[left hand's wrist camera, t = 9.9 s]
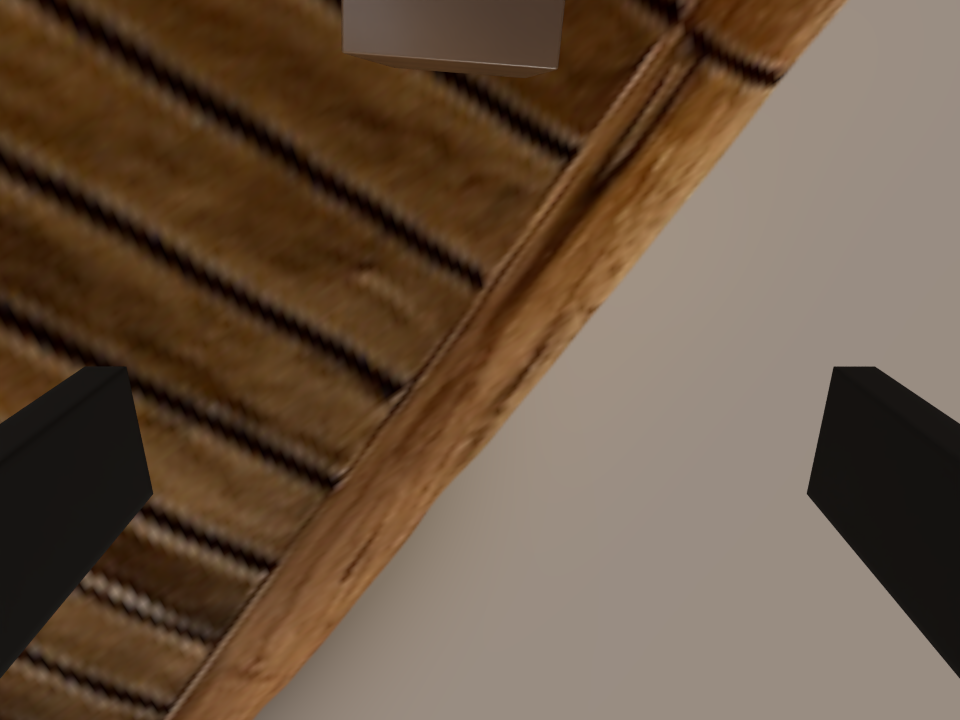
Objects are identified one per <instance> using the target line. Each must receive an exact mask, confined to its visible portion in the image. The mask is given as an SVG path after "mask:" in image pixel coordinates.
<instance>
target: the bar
mask: <svg viewBox="0 0 960 720" xmlns="http://www.w3.org/2000/svg"><path fill="white" fill-rule="evenodd" d="M564 6H565V0H342V52H343V53H345V54H348V55H352V56H355V57H359V58H362V59H366V60H369V61H373V62H376V63H380V64H383V65H387V66H390V67H394V68H405V69H418V70H430V71H443V72H456V73H469V74H481V75H494V76H507V77H520V78H527V77H531V76H534V75H538V74H542V73H546V72H550V71H553V70H557V68H558V62H559V53H560V43H561V34H562V24H563V15H564Z"/></svg>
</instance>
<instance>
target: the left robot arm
mask: <svg viewBox="0 0 960 720" xmlns="http://www.w3.org/2000/svg"><path fill="white" fill-rule="evenodd" d="M152 495H153V490H152V486H151V481H150V476H149V471H148V467H147V462H146V457H145V453H144V448H143V443H142V438H141V434H140V429H139V424H138V420H137V415H136V410H135V405H134V401H133V396H132V391H131V386H130V382H129V377H128V372H127V368H126V367H84V368H82V369H81V370H79V371H78V372H76V373H75V374H73V375H72V376H70V377H69V378H67V379H66V380H64V381H63V382H62V383H60V384H59V385H57V386H56V387H54V388H53V389H51V390H50V391H48V392H47V393H45V394H44V395H42V396H41V397H39V398H38V399H36V400H35V401H33V402H32V403H30V404H29V405H27V406H26V407H24V408H23V409H22V410H20V411H19V412H17V413H16V414H14V415H13V416H11V417H10V418H8V419H7V420H5V421H4V422H2V423H1V424H0V678H1V677H2V676H3V674H4V673H5V672H6V671H7V670H8V668H9V667H10V666H11V665H12V664H13V662H14V661H15V660H16V659H17V658H18V656H19V655H20V654H21V653H22V651H23V650H24V649H25V648H26V647H27V645H28V644H29V643H30V642H31V641H32V639H33V638H34V637H35V636H36V635H37V633H38V632H39V631H40V630H41V629H42V627H43V626H44V625H45V624H46V623H47V621H48V620H49V619H50V618H51V617H52V615H53V614H54V613H55V612H56V610H57V609H58V608H59V607H60V606H61V604H62V603H63V602H64V601H65V600H66V598H67V597H68V596H69V595H70V594H71V592H72V591H73V590H74V589H75V588H76V586H77V585H78V584H79V583H80V582H81V580H82V579H83V578H84V577H85V576H86V574H87V573H88V572H89V571H90V569H91V568H92V567H93V566H94V565H95V563H96V562H97V561H98V560H99V559H100V557H101V556H102V555H103V554H104V553H105V551H106V550H107V549H108V548H109V547H110V545H111V544H112V543H113V542H114V541H115V539H116V538H117V537H118V536H119V535H120V533H121V532H122V531H123V530H124V528H125V527H126V526H127V525H128V524H129V522H130V521H131V520H132V519H133V518H134V516H135V515H136V514H137V513H138V512H139V510H140V509H141V508H142V507H143V506H144V504H145V503H146V502H147V501H148V500H149V498H150V497H151V496H152ZM807 495H808V496H809V497H810V498H811V500H812V501H813V502H814V503H815V504H816V506H817V507H818V508H819V509H820V510H821V512H822V513H823V514H824V515H825V516H826V518H827V519H828V520H829V521H830V522H831V524H832V525H833V526H834V527H835V528H836V530H837V531H838V532H839V533H840V535H841V536H842V537H843V538H844V539H845V541H846V542H847V543H848V544H849V545H850V547H851V548H852V549H853V550H854V551H855V553H856V554H857V555H858V556H859V557H860V559H861V560H862V561H863V562H864V563H865V565H866V566H867V567H868V568H869V569H870V571H871V572H872V573H873V574H874V575H875V577H876V578H877V579H878V580H879V582H880V583H881V584H882V585H883V586H884V588H885V589H886V590H887V591H888V592H889V594H890V595H891V596H892V597H893V598H894V600H895V601H896V602H897V603H898V604H899V606H900V607H901V608H902V609H903V610H904V612H905V613H906V614H907V615H908V617H909V618H910V619H911V620H912V621H913V623H914V624H915V625H916V626H917V627H918V628H919V630H920V631H921V632H922V633H923V635H924V636H925V637H926V638H927V639H928V641H929V642H930V643H931V644H932V645H933V647H934V648H935V649H936V650H937V651H938V653H939V654H940V655H941V656H942V657H943V659H944V660H945V661H946V662H947V664H948V665H949V666H950V667H951V668H952V670H953V671H954V672H955V673H956V674H957V676H958V677H959V678H960V424H959V423H958V422H956V421H955V420H953V419H952V418H950V417H949V416H947V415H946V414H944V413H943V412H941V411H940V410H938V409H937V408H936V407H934V406H933V405H931V404H930V403H928V402H927V401H925V400H924V399H922V398H921V397H919V396H918V395H916V394H915V393H913V392H912V391H910V390H909V389H907V388H906V387H904V386H903V385H901V384H900V383H898V382H897V381H896V380H894V379H893V378H891V377H890V376H888V375H887V374H885V373H884V372H882V371H881V370H879V369H878V368H876V367H834V368H833V372H832V377H831V382H830V387H829V391H828V396H827V401H826V405H825V410H824V415H823V420H822V424H821V429H820V434H819V438H818V443H817V448H816V453H815V457H814V462H813V467H812V471H811V476H810V481H809V486H808V490H807Z"/></svg>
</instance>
